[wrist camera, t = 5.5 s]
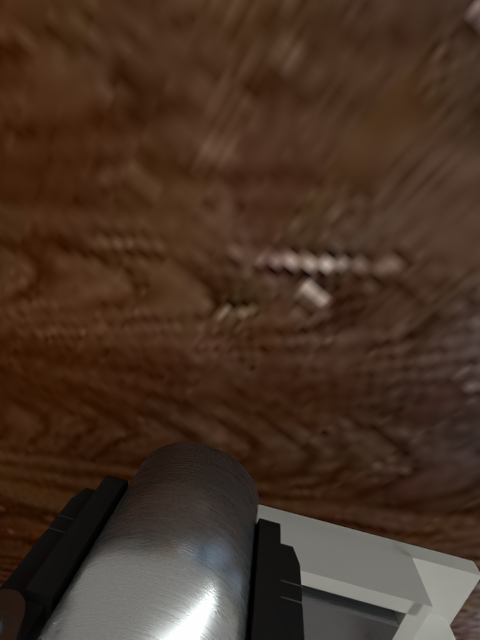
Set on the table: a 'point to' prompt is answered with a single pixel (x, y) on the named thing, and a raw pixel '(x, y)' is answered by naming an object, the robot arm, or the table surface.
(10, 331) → the table surface
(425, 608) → the scale
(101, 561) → the cylinder
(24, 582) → the robot arm
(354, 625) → the scale pan
